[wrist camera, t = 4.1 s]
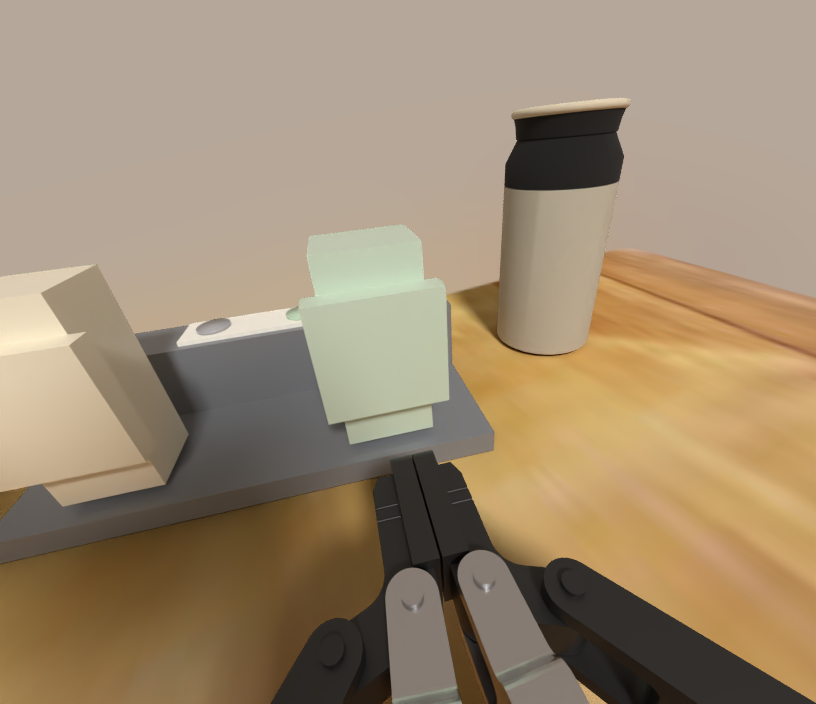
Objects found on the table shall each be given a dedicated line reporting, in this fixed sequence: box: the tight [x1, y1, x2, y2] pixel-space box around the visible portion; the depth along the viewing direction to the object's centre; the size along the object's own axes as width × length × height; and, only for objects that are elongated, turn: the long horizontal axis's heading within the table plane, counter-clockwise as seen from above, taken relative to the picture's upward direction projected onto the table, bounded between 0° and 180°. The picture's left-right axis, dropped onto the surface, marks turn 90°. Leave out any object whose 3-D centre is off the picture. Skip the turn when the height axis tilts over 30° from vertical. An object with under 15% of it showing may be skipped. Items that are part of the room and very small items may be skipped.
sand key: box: [0, 264, 189, 506], centre depth 17 cm, size 6×5×11 cm
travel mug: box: [497, 98, 631, 355], centre depth 29 cm, size 8×8×18 cm
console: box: [0, 300, 494, 564], centre depth 23 cm, size 27×12×7 cm, turn 102°
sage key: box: [298, 224, 449, 445], centre depth 19 cm, size 6×5×11 cm
